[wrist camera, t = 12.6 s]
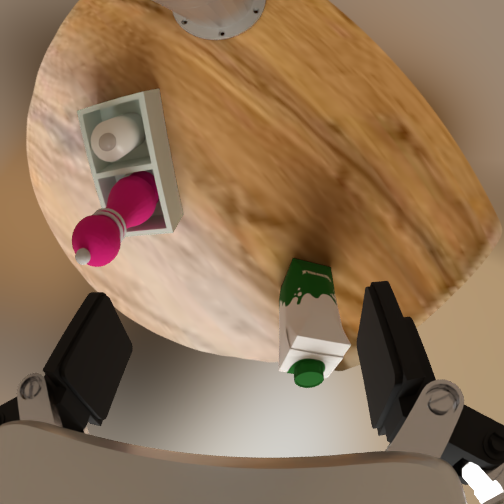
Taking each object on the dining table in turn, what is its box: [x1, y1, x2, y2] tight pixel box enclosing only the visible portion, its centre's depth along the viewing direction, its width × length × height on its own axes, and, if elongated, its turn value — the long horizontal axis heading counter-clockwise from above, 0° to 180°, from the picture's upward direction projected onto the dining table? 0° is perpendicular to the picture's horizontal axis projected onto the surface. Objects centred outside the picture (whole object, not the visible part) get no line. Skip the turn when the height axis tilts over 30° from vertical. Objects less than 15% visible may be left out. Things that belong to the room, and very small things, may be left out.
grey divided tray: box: [77, 89, 183, 237], centre depth 42 cm, size 20×11×6 cm, turn 6°
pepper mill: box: [72, 171, 160, 267], centre depth 38 cm, size 7×7×20 cm
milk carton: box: [279, 258, 351, 388], centre depth 46 cm, size 9×9×20 cm
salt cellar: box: [91, 112, 146, 162], centre depth 38 cm, size 6×6×8 cm
